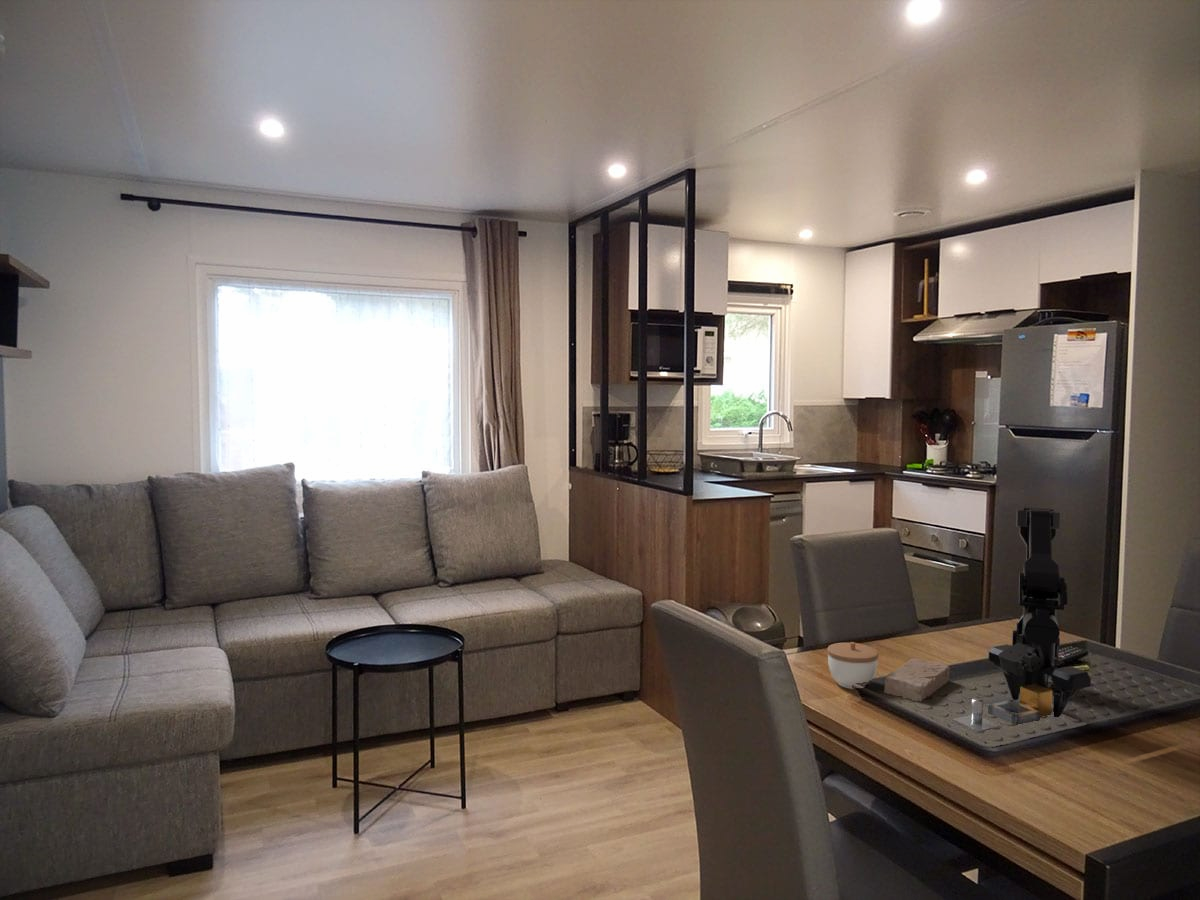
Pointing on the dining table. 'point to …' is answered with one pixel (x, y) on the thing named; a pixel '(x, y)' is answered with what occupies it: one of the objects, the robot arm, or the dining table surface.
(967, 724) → the metal knob
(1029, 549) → the robot arm
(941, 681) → the brick
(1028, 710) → the grey and orange frame
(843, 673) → the lidded jar
